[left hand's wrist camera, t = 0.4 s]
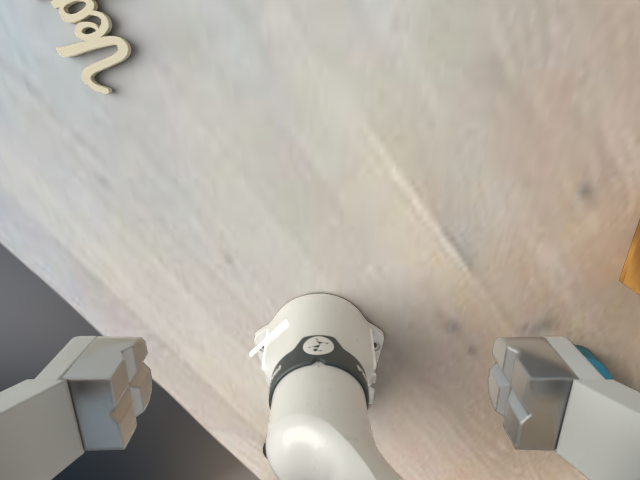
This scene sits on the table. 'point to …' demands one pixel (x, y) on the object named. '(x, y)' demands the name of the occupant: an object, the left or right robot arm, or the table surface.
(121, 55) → the decorative sign
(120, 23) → the table surface
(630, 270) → the chest
